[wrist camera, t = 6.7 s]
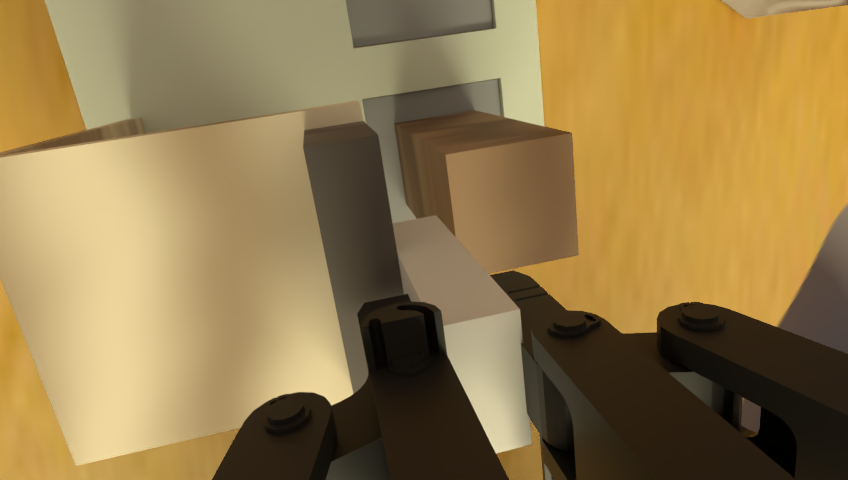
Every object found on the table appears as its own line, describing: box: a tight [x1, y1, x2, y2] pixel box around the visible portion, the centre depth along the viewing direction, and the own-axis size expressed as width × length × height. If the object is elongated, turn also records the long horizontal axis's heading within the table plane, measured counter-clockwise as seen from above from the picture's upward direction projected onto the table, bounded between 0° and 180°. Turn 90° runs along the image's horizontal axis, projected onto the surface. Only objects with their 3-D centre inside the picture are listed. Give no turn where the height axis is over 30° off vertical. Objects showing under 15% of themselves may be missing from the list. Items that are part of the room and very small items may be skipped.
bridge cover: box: [0, 101, 404, 466], centre depth 21 cm, size 10×9×17 cm
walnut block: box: [394, 110, 578, 274], centre depth 25 cm, size 4×4×12 cm
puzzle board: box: [45, 0, 544, 223], centre depth 28 cm, size 23×20×1 cm
